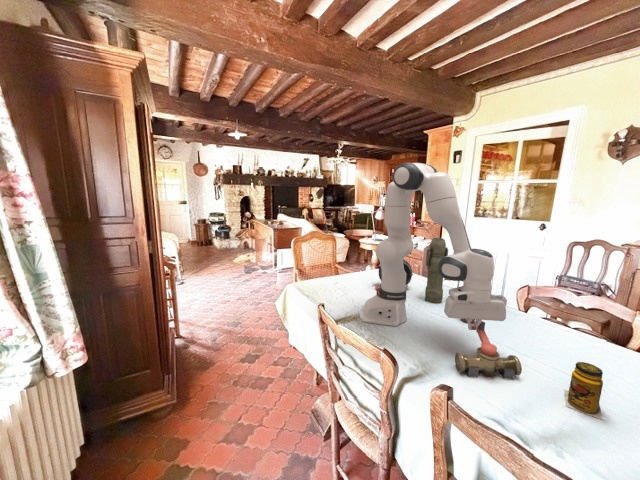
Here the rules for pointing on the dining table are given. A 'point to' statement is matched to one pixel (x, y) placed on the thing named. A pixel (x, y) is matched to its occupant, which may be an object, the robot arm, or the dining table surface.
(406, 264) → the ring
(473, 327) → the robot arm
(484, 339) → the lever
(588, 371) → the condiment
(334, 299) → the dining table surface
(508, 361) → the valve body
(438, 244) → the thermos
